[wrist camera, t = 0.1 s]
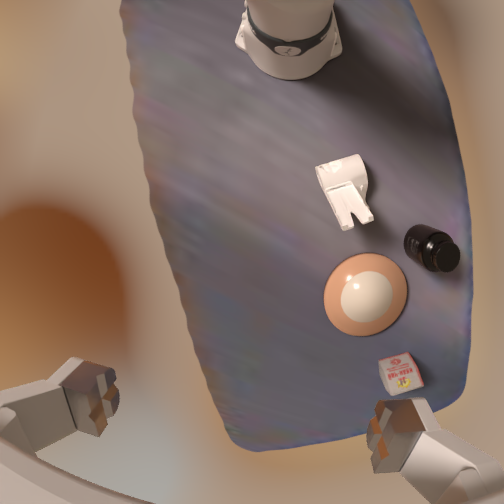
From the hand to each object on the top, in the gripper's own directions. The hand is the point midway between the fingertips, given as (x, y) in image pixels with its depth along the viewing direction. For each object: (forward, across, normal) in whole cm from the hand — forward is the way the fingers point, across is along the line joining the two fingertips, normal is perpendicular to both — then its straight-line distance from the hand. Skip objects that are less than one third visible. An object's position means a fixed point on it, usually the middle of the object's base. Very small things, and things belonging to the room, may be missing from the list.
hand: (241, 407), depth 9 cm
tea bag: (+48, -28, +28) cm, 62 cm away
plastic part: (+48, -11, -6) cm, 50 cm away
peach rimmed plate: (+48, -18, +13) cm, 53 cm away
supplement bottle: (+48, -27, +2) cm, 55 cm away
